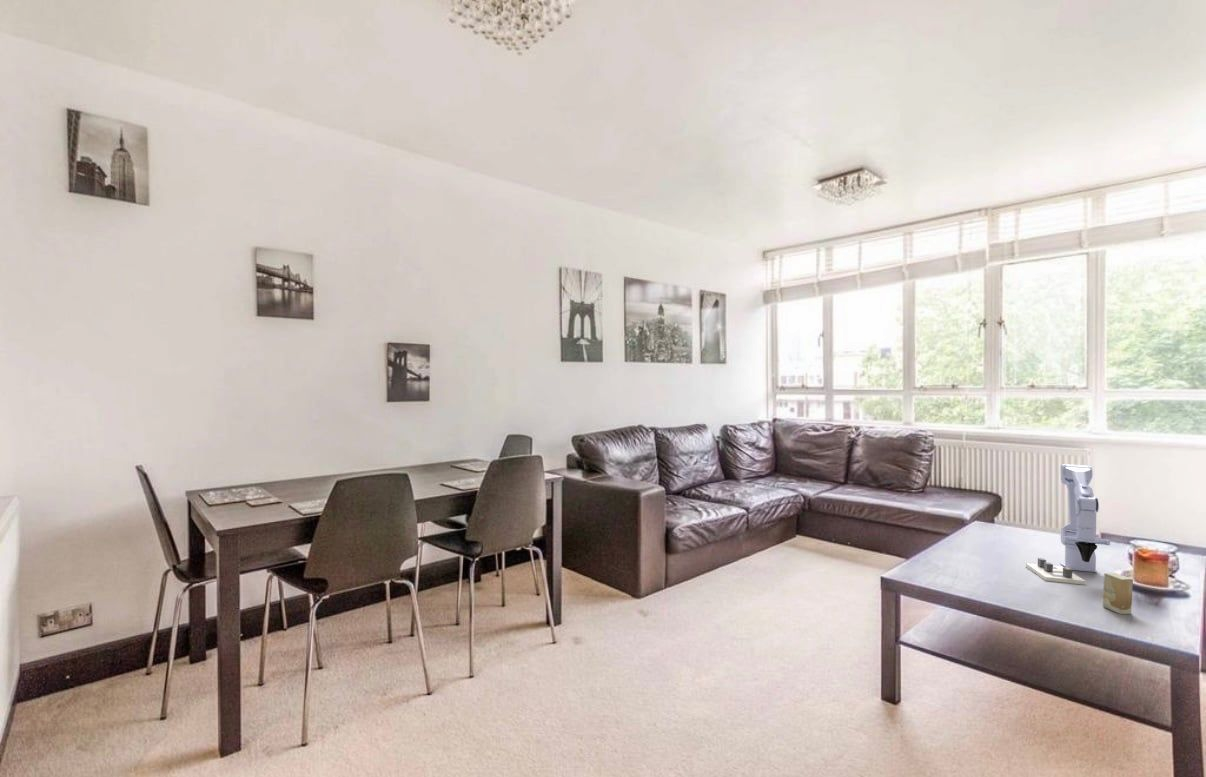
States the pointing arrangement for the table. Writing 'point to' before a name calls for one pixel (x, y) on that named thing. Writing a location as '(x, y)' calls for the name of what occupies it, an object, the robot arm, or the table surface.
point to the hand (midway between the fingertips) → (1085, 561)
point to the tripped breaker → (1067, 572)
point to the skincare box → (1117, 593)
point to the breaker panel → (1053, 572)
